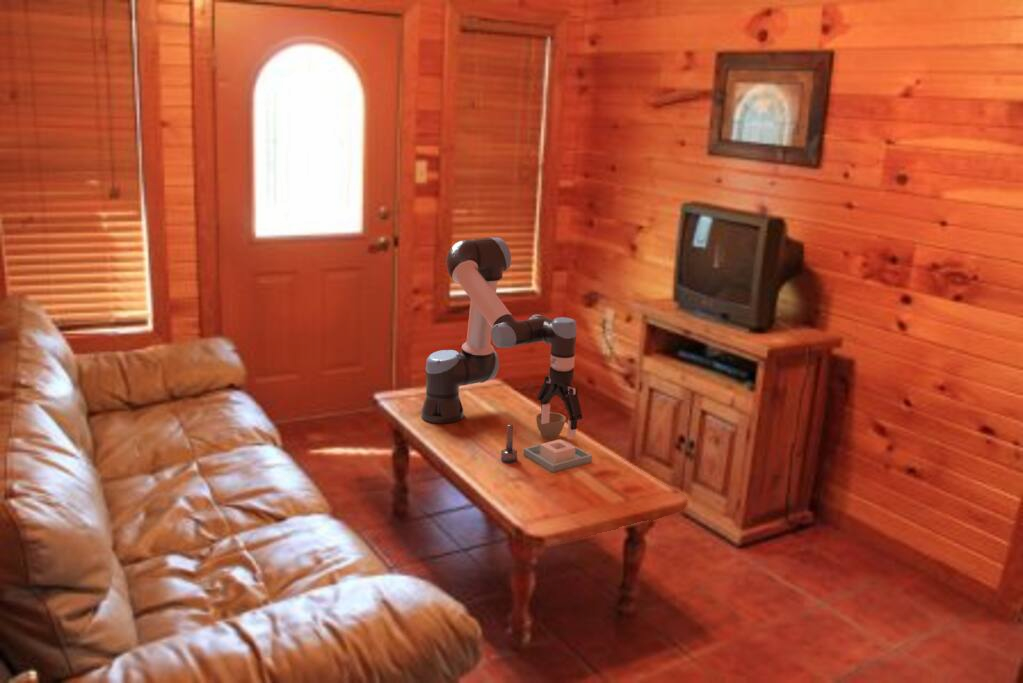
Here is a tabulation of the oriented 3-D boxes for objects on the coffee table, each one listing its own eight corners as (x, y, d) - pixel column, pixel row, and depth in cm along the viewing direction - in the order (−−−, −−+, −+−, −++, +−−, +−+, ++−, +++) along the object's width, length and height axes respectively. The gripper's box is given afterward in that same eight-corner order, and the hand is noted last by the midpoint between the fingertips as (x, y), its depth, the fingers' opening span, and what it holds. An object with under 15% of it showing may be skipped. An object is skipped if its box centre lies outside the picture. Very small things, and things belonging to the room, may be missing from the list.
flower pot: (562, 444, 291) (563, 424, 289) (532, 440, 293) (533, 420, 291) (566, 433, 301) (567, 413, 299) (538, 430, 302) (538, 410, 300)
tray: (523, 455, 281) (523, 448, 280) (561, 445, 290) (562, 439, 289) (552, 473, 269) (552, 465, 268) (591, 462, 277) (592, 455, 277)
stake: (498, 459, 278) (499, 424, 274) (511, 455, 280) (512, 421, 277) (506, 464, 274) (508, 429, 270) (519, 461, 276) (521, 426, 273)
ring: (539, 455, 280) (540, 444, 279) (559, 450, 284) (560, 439, 283) (554, 464, 274) (555, 452, 273) (574, 459, 278) (575, 447, 277)
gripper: (528, 357, 278) (525, 419, 285) (577, 381, 259) (572, 447, 265) (547, 354, 282) (544, 415, 289) (596, 377, 263) (591, 442, 269)
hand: (557, 430), depth 277 cm, fingers open, 13 cm apart
